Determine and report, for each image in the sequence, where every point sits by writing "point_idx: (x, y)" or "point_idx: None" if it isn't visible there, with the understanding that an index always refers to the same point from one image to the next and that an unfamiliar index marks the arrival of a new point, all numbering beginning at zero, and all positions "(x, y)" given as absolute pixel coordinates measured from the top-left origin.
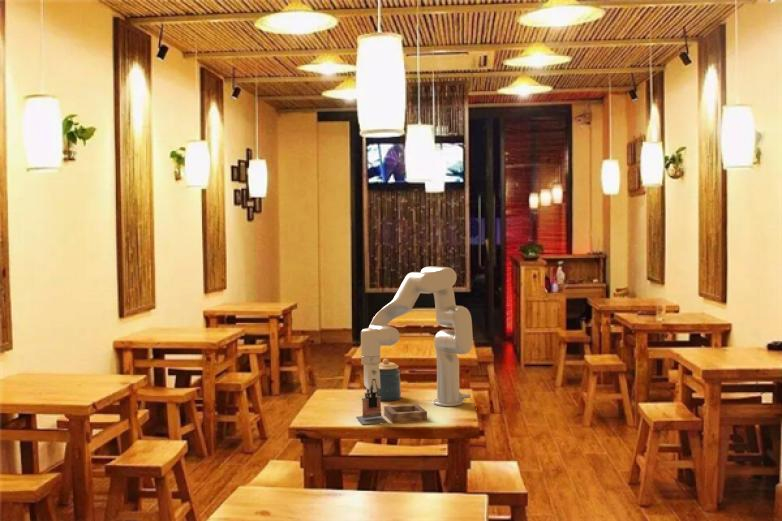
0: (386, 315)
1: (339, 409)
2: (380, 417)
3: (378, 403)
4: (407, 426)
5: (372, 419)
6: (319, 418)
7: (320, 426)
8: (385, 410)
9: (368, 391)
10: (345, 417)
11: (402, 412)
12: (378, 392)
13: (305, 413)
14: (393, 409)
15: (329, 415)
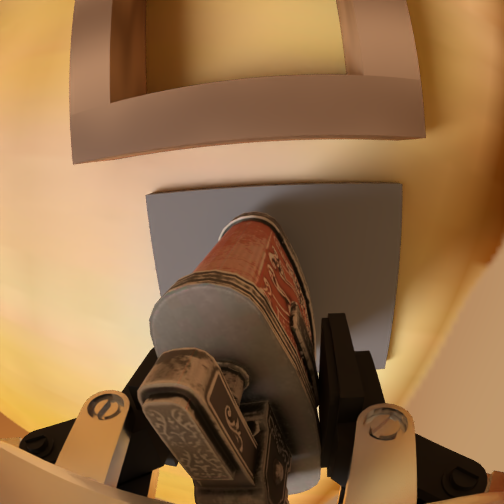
0: None
1: (23, 367)
2: (232, 209)
3: (277, 293)
4: (496, 74)
5: None
6: (172, 474)
7: (314, 494)
8: (130, 154)
9: (126, 474)
10: None
11: (372, 21)
12: (208, 389)
13: None
14: (122, 81)
15: None
